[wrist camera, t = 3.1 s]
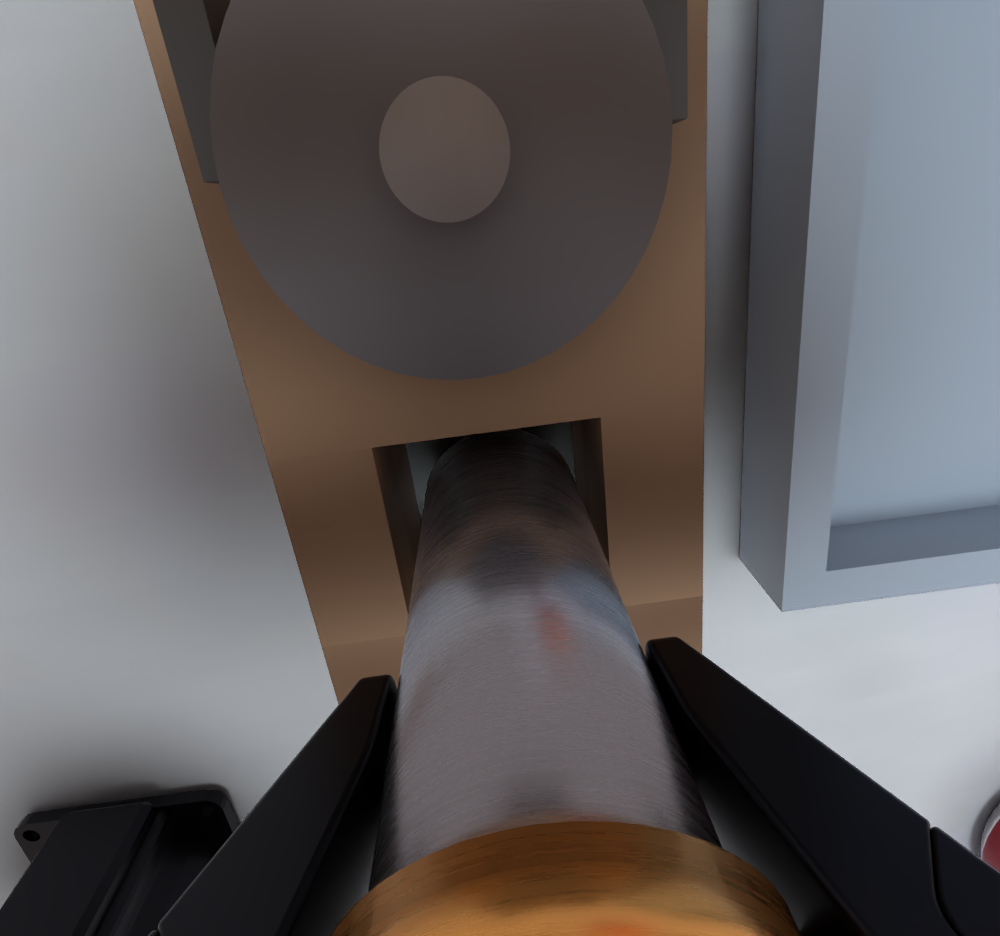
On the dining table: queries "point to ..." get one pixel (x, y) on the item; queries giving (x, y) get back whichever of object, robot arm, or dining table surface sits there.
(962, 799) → the dining table surface
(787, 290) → the tray
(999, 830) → the soda can
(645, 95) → the tensioner block
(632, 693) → the pin
